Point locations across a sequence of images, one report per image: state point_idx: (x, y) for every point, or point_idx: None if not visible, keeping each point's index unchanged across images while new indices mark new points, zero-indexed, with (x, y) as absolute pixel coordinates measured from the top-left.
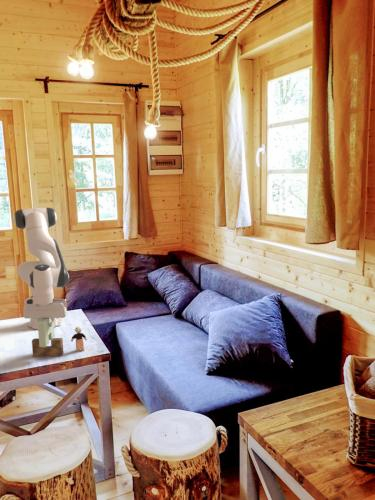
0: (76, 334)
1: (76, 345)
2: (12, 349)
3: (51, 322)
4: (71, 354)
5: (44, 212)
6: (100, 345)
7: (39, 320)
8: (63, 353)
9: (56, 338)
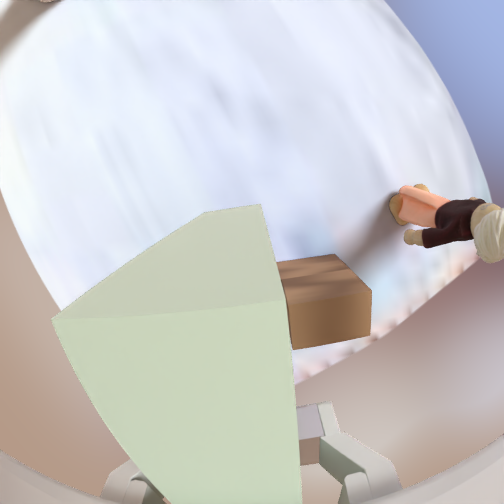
0: (464, 239)
1: (414, 223)
2: (39, 228)
3: (339, 470)
4: (380, 262)
5: None
6: (468, 137)
7: (154, 487)
8: (334, 254)
9: (325, 308)
